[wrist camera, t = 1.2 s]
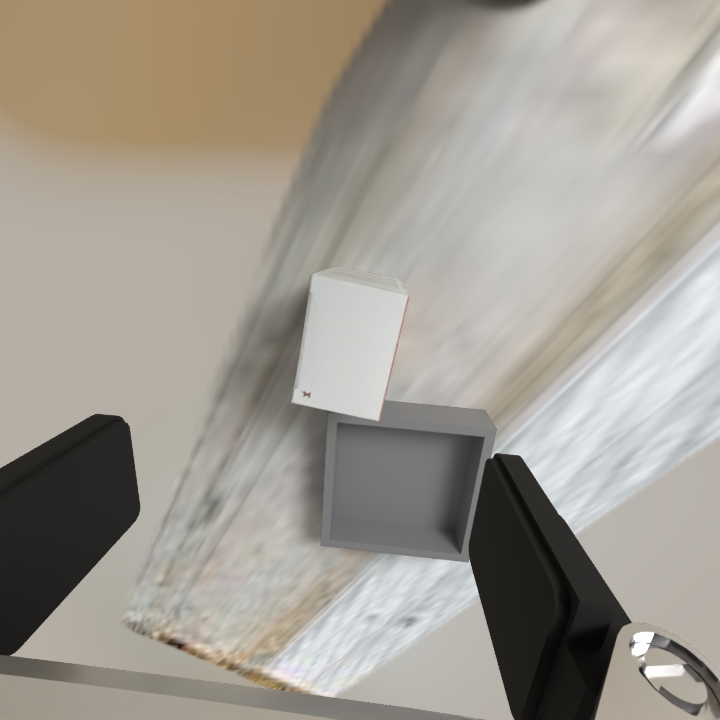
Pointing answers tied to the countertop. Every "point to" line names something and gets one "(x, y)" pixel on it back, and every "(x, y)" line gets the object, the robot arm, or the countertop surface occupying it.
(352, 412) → the small box
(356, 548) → the tray
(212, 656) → the countertop surface
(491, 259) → the countertop surface
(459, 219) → the countertop surface
